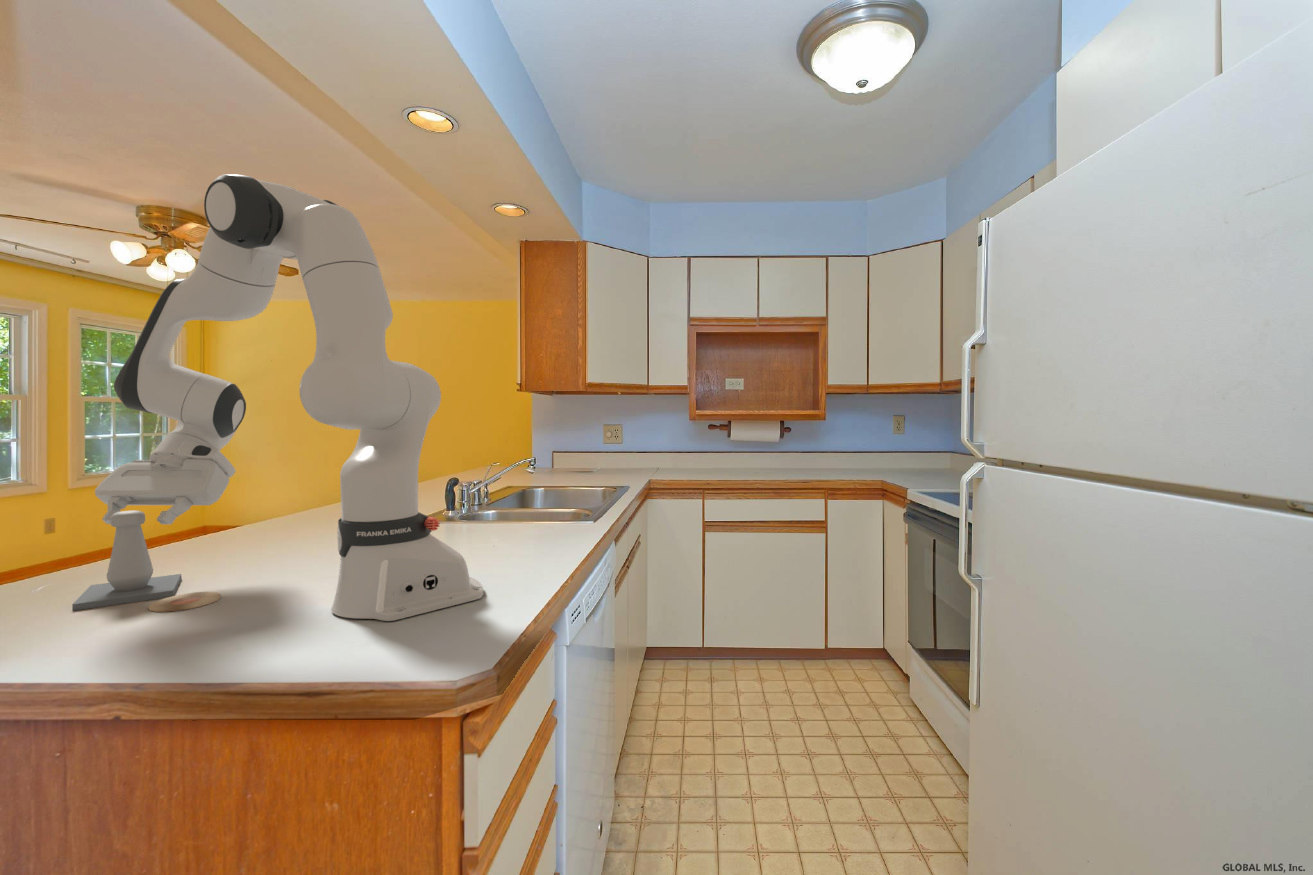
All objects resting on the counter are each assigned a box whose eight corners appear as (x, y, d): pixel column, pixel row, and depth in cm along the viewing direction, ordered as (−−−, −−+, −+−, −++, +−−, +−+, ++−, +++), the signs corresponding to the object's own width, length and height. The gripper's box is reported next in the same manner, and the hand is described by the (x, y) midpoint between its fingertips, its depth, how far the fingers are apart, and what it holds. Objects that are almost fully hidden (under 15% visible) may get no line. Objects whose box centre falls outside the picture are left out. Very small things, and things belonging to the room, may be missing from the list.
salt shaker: (160, 585, 98) (157, 510, 98) (116, 595, 93) (113, 515, 93) (144, 581, 101) (141, 507, 100) (101, 590, 96) (97, 512, 95)
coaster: (222, 590, 99) (222, 588, 99) (219, 604, 91) (219, 602, 91) (153, 600, 94) (153, 598, 94) (144, 616, 86) (144, 614, 86)
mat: (181, 579, 105) (181, 573, 105) (173, 596, 96) (173, 590, 96) (91, 590, 99) (91, 585, 99) (72, 610, 89) (72, 604, 89)
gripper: (116, 449, 105) (62, 511, 96) (225, 449, 105) (182, 511, 95) (139, 471, 110) (90, 532, 100) (244, 471, 109) (205, 532, 100)
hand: (136, 522), depth 98 cm, fingers open, 8 cm apart
